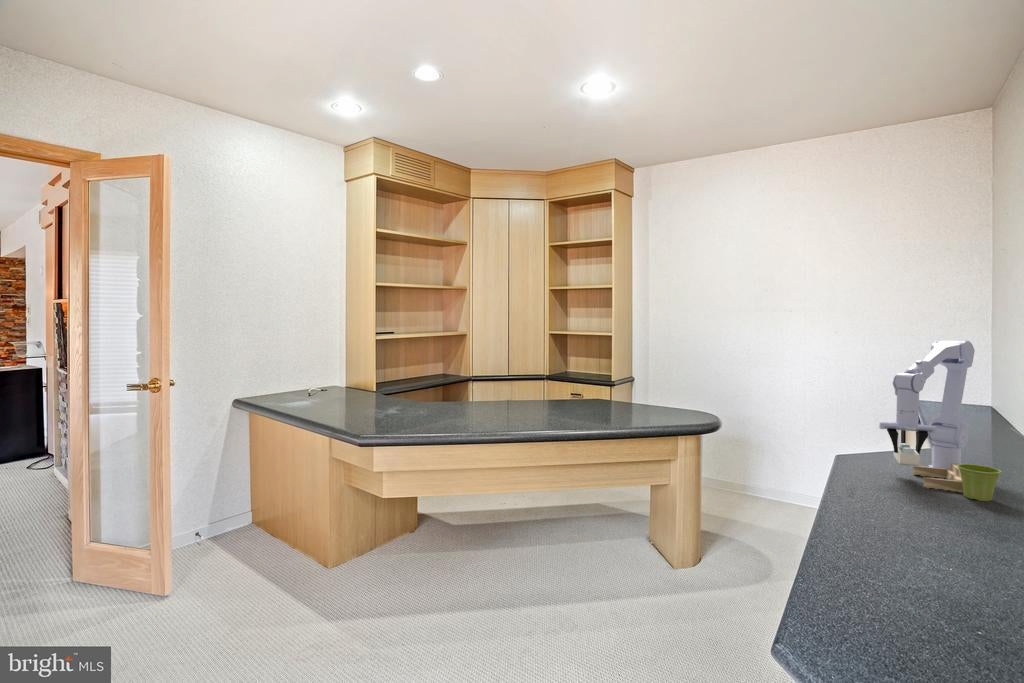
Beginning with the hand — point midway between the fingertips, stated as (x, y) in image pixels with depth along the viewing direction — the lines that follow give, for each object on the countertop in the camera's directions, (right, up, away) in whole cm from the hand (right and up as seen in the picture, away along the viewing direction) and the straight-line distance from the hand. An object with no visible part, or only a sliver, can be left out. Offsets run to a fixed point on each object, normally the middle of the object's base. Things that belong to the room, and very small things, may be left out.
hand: (906, 453), depth 172 cm
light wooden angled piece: (+8, -9, -4) cm, 13 cm away
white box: (0, -3, 0) cm, 3 cm away
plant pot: (+7, -9, -18) cm, 22 cm away
